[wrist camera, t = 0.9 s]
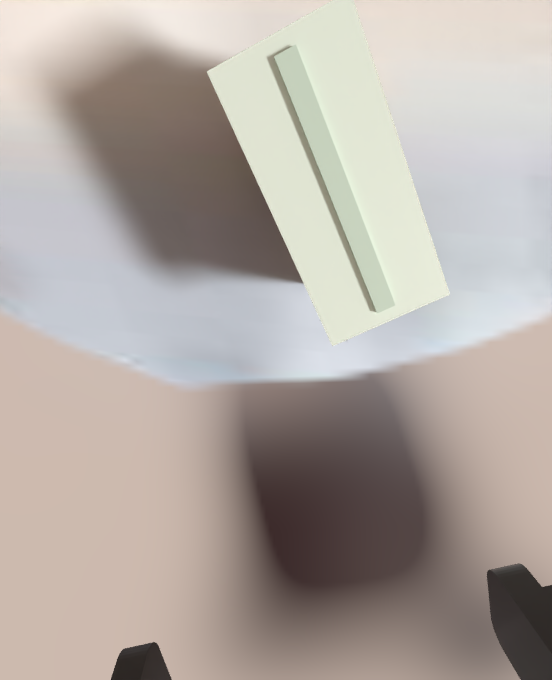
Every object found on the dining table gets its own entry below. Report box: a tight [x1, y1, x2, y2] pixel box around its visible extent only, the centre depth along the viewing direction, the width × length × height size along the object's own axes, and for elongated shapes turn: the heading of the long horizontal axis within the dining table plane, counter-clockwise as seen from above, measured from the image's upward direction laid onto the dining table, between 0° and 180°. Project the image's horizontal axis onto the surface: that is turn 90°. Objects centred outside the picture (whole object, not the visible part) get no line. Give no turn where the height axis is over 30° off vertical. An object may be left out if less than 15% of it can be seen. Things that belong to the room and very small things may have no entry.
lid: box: [207, 0, 450, 346], centre depth 20 cm, size 14×7×3 cm, turn 25°
